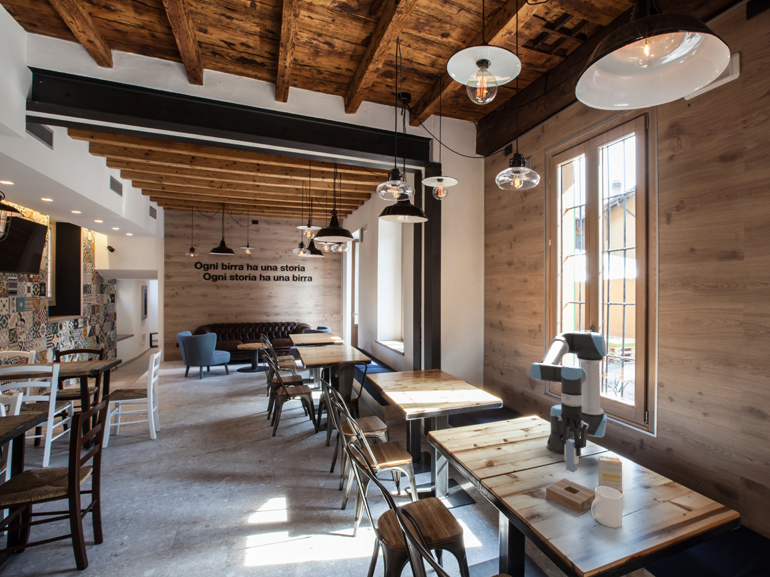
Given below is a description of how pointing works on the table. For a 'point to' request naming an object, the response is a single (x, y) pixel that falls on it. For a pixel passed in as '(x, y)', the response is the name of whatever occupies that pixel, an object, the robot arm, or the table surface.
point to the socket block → (571, 495)
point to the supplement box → (610, 472)
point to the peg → (570, 456)
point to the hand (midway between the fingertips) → (571, 461)
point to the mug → (607, 506)
